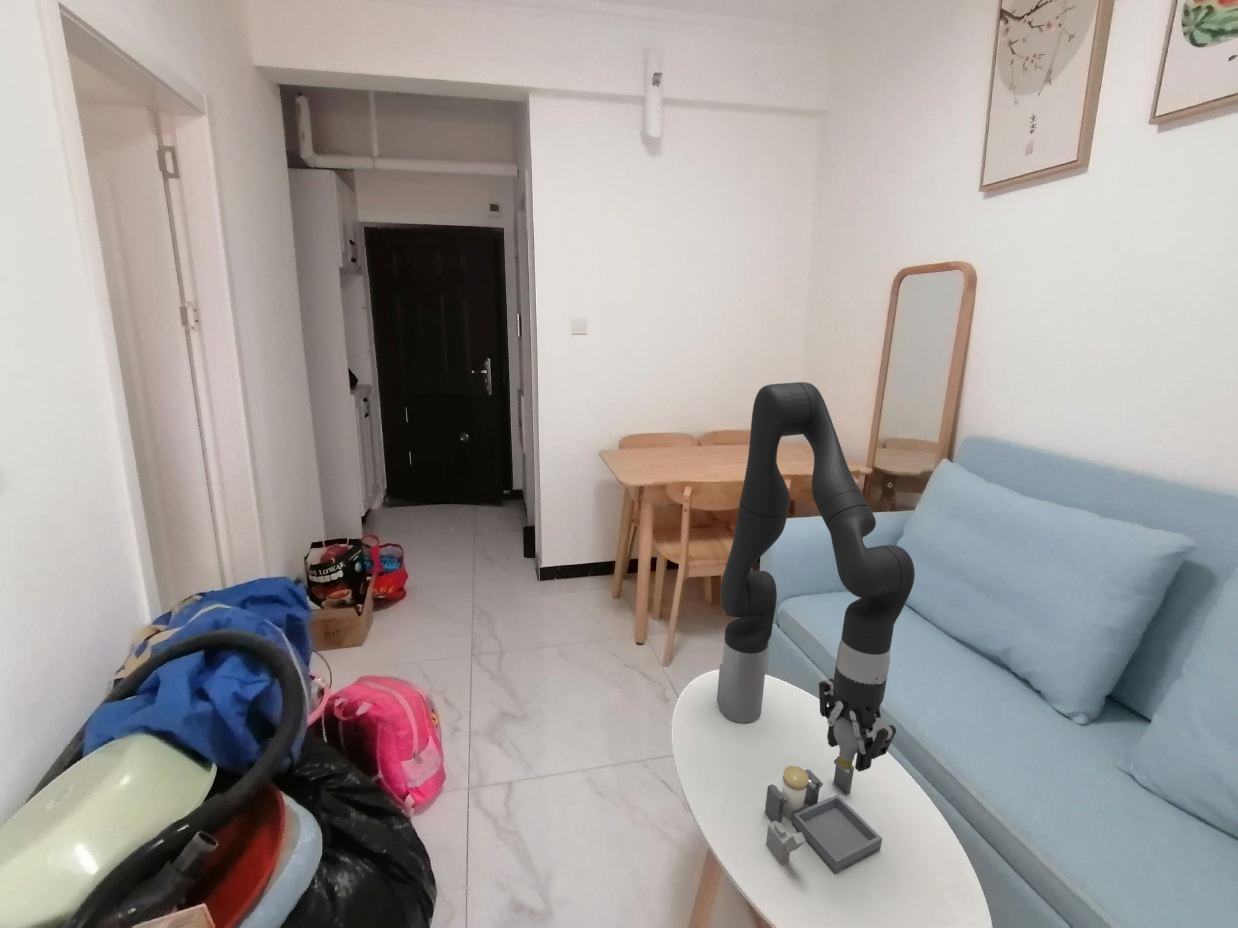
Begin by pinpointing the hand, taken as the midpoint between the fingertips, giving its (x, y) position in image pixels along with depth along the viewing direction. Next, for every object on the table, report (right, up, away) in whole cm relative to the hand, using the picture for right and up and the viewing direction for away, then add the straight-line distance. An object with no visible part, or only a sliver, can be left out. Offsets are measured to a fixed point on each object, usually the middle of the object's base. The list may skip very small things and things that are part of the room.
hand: (847, 755), depth 98 cm
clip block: (-3, -14, +12) cm, 18 cm away
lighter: (-10, -17, 0) cm, 20 cm away
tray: (0, -16, +5) cm, 17 cm away
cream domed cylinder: (-7, -15, +10) cm, 19 cm away
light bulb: (0, -3, +1) cm, 3 cm away
